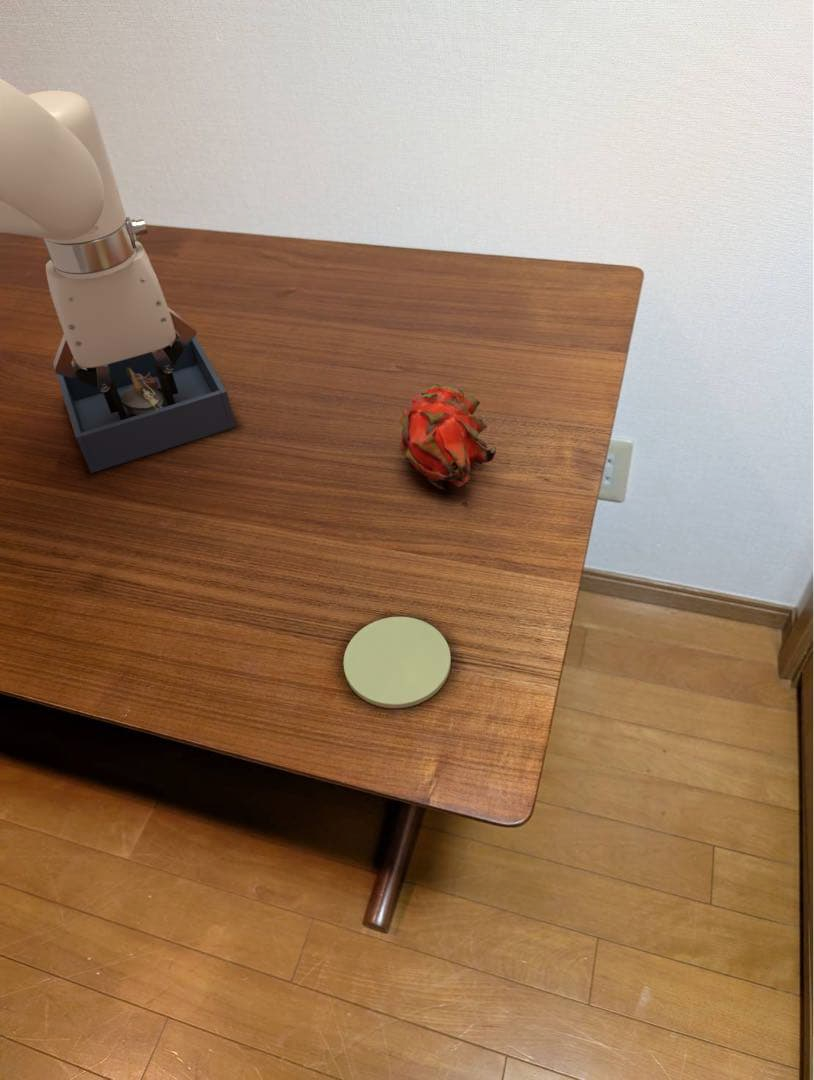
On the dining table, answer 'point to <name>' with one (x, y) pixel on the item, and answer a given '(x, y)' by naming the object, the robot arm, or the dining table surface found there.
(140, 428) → the basket
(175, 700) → the dining table surface
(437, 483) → the dragon fruit
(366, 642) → the mat
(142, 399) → the figurine
